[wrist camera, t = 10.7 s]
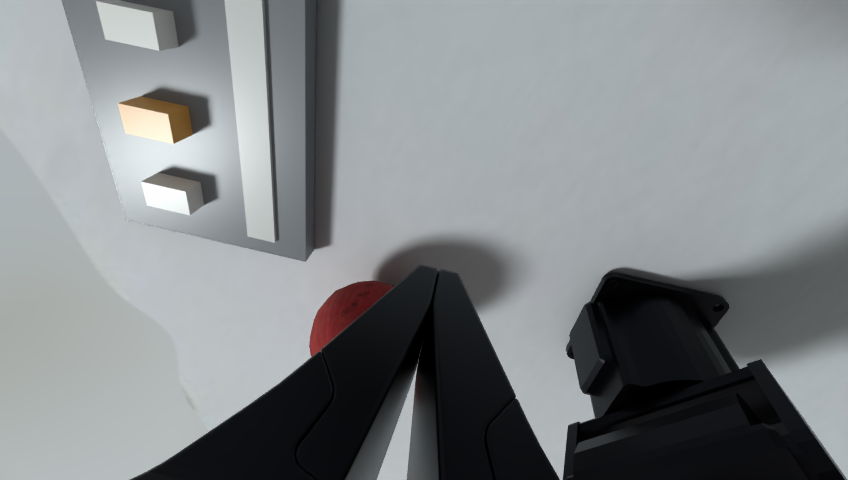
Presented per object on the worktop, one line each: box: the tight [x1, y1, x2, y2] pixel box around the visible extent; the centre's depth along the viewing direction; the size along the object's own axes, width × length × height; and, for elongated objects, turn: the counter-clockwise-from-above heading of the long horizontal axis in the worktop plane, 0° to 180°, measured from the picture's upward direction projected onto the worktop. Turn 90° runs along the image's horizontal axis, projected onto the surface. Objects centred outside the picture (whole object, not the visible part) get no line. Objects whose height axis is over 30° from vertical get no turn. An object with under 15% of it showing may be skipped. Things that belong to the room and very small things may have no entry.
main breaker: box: [118, 96, 193, 144], centre depth 19 cm, size 2×1×1 cm, turn 80°
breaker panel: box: [62, 0, 317, 262], centre depth 18 cm, size 11×18×2 cm, turn 170°
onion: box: [309, 281, 394, 356], centre depth 22 cm, size 6×6×8 cm
